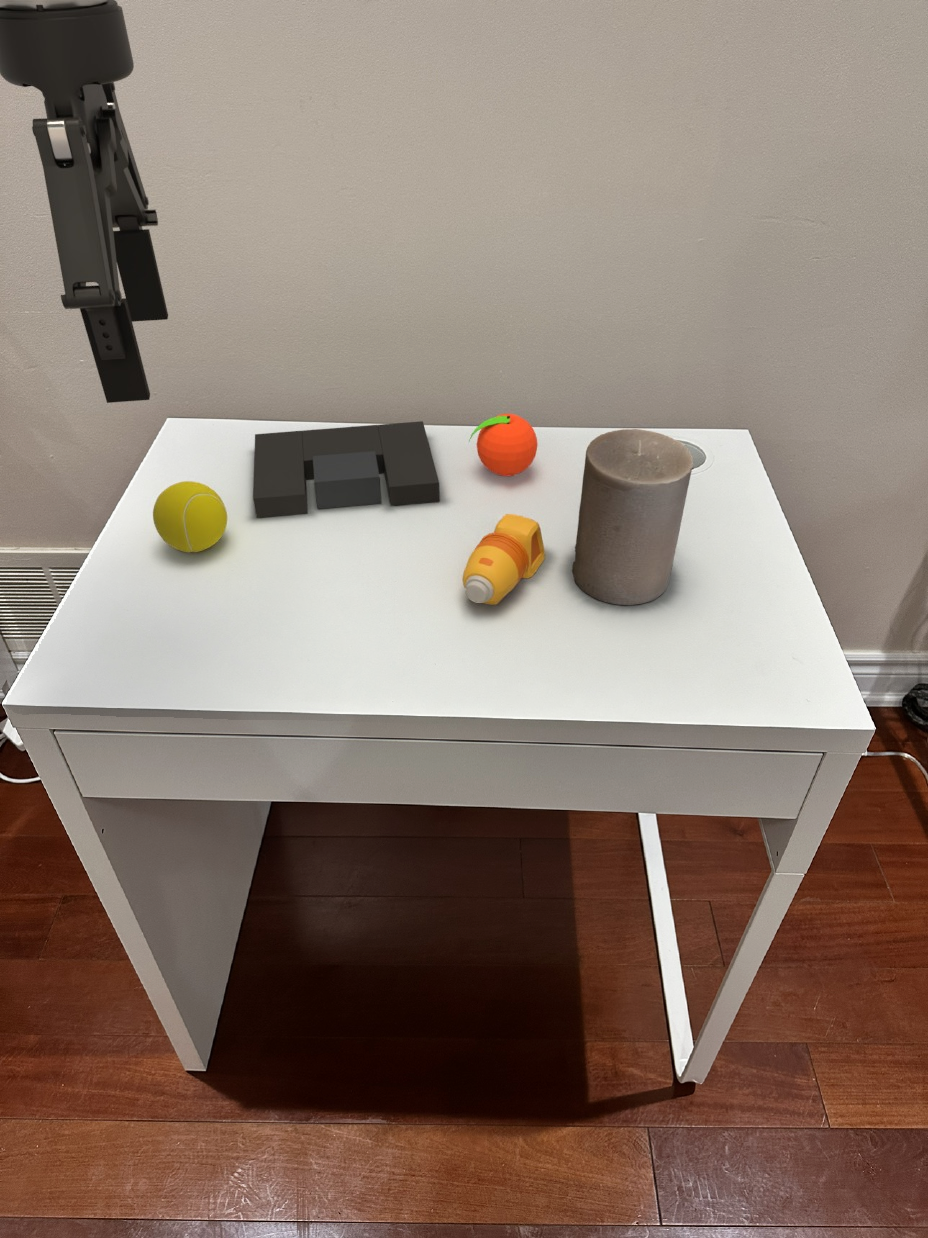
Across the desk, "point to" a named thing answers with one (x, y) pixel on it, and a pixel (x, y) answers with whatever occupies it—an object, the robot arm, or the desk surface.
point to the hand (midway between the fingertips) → (140, 356)
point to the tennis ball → (190, 516)
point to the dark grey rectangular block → (346, 479)
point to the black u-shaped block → (291, 453)
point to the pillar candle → (630, 515)
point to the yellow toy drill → (503, 559)
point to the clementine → (506, 444)
